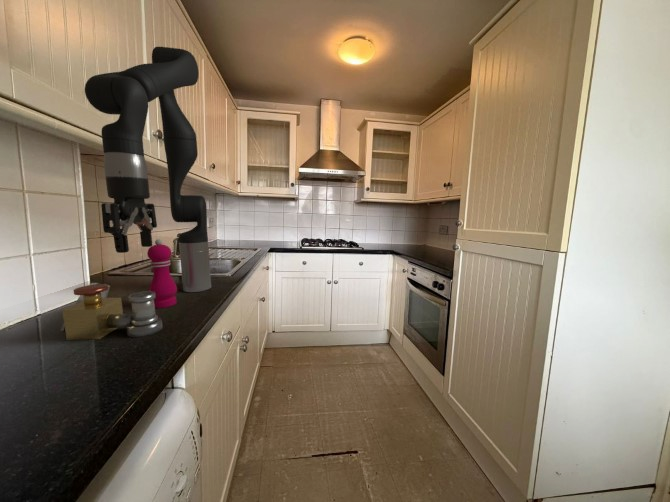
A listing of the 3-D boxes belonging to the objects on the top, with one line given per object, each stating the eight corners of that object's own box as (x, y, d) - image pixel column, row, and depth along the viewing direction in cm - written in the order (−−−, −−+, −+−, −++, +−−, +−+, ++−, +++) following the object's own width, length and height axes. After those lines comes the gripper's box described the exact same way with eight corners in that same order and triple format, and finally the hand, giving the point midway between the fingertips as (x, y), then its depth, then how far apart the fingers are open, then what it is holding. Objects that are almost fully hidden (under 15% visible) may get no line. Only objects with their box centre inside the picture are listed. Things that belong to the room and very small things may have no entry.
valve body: (95, 324, 69) (89, 283, 67) (169, 322, 70) (165, 282, 69) (66, 339, 61) (59, 293, 60) (150, 337, 62) (145, 292, 61)
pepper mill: (173, 298, 89) (167, 237, 85) (182, 304, 84) (176, 239, 81) (147, 304, 83) (140, 239, 80) (155, 310, 79) (147, 241, 75)
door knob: (162, 317, 69) (159, 290, 68) (150, 326, 63) (146, 297, 62) (140, 318, 68) (137, 291, 67) (126, 327, 63) (122, 298, 62)
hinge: (82, 308, 80) (93, 276, 80) (102, 311, 82) (113, 279, 82) (59, 331, 65) (72, 291, 65) (85, 334, 68) (97, 295, 68)
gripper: (122, 173, 54) (132, 254, 56) (163, 179, 68) (169, 244, 70) (81, 172, 53) (93, 255, 56) (131, 179, 67) (138, 244, 70)
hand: (135, 249), depth 63 cm, fingers open, 8 cm apart
